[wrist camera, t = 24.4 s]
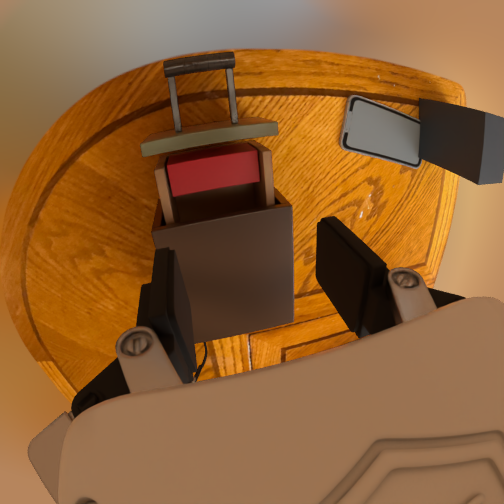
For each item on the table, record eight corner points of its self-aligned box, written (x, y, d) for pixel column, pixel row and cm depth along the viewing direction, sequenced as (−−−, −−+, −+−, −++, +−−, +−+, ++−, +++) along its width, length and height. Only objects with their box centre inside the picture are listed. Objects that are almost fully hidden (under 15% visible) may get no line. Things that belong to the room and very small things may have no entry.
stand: (418, 98, 30) (485, 112, 20) (447, 103, 31) (508, 119, 21) (417, 157, 35) (478, 185, 25) (445, 156, 36) (501, 182, 26)
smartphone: (419, 170, 36) (339, 149, 32) (415, 168, 37) (335, 148, 33) (430, 124, 32) (350, 92, 28) (426, 123, 33) (347, 92, 29)
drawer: (140, 72, 23) (127, 65, 17) (252, 56, 24) (270, 45, 18) (174, 247, 33) (173, 280, 27) (267, 229, 35) (285, 258, 29)
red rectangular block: (247, 142, 28) (257, 150, 24) (249, 170, 29) (260, 181, 26) (169, 155, 27) (166, 165, 23) (174, 183, 28) (172, 197, 25)
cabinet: (158, 198, 31) (150, 231, 23) (267, 179, 32) (292, 205, 25) (184, 298, 38) (188, 345, 31) (273, 280, 40) (294, 322, 33)
